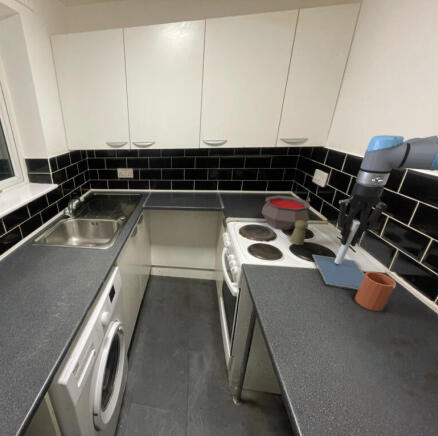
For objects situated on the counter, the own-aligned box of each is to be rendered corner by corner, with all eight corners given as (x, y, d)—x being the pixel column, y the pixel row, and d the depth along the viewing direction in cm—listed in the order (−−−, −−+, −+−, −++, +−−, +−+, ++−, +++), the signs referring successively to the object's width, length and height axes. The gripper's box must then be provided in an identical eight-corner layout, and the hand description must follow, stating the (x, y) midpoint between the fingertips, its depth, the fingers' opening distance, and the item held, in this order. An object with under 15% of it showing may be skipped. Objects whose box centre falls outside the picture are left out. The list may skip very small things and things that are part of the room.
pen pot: (376, 298, 77) (388, 274, 73) (387, 313, 71) (401, 288, 67) (351, 293, 80) (361, 269, 76) (360, 308, 74) (371, 283, 70)
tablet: (353, 262, 96) (354, 260, 95) (377, 294, 79) (378, 292, 78) (311, 256, 101) (312, 254, 100) (325, 285, 84) (326, 283, 83)
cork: (304, 240, 113) (309, 220, 108) (304, 246, 108) (309, 225, 104) (289, 237, 116) (294, 217, 111) (289, 243, 111) (294, 222, 107)
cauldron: (294, 216, 139) (300, 190, 132) (316, 235, 117) (325, 205, 111) (253, 215, 142) (257, 190, 135) (267, 234, 120) (273, 205, 113)
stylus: (339, 262, 94) (358, 220, 83) (341, 266, 92) (361, 223, 82) (333, 261, 94) (351, 220, 84) (334, 265, 93) (353, 223, 82)
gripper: (346, 185, 77) (326, 245, 87) (405, 188, 72) (377, 252, 81) (338, 179, 83) (320, 236, 93) (392, 182, 78) (367, 242, 88)
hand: (347, 243), depth 87 cm, fingers closed on stylus, 2 cm apart
